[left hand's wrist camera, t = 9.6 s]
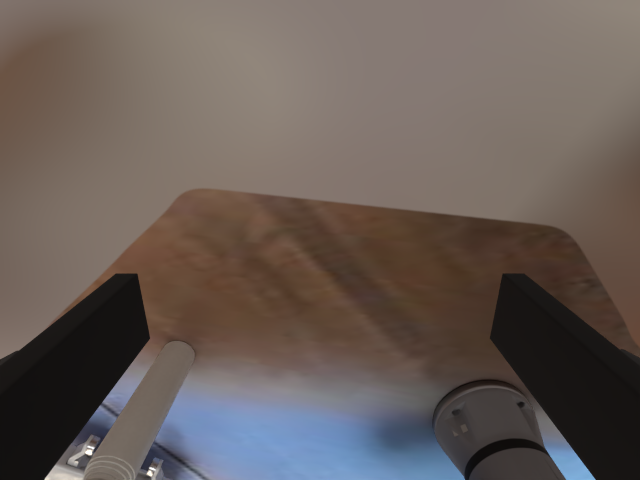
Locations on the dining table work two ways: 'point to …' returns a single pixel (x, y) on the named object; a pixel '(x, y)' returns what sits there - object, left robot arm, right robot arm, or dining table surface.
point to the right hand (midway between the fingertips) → (125, 451)
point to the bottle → (141, 417)
